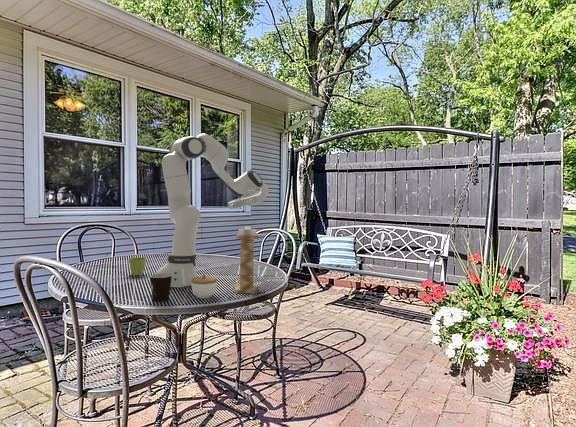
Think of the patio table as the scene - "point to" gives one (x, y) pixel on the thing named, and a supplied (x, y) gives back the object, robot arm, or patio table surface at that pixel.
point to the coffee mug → (160, 286)
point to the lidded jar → (203, 286)
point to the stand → (246, 264)
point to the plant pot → (137, 266)
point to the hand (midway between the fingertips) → (239, 205)
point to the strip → (247, 231)
